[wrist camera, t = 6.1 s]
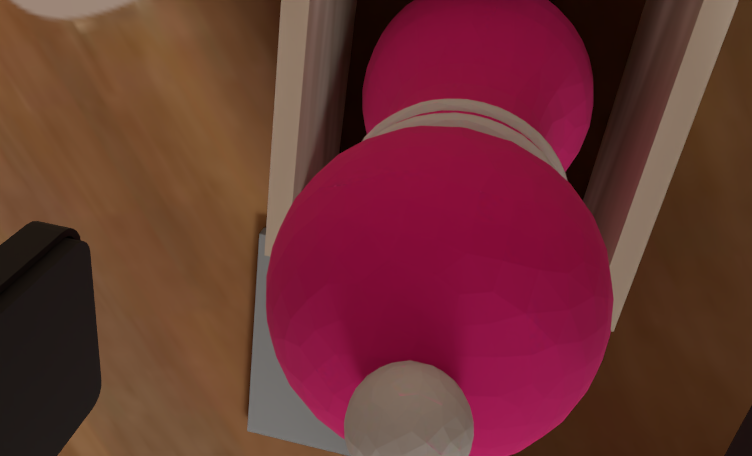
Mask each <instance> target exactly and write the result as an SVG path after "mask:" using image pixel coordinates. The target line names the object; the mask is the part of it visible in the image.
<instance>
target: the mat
mask: <svg viewBox="0 0 752 456" xmlns="http://www.w3.org/2000/svg"><path fill="white" fill-rule="evenodd" d="M265 238H266V228H263V229H262V231H261V232H260V234H259V248H258V264H257V281H256V297H255V314H254V330H253V346H252V363H251V379H250V396H249V412H248V429H247V431H249V432H254V433H258V434H262V435H266V436H270V437H274V438H278V439H282V440H286V441H290V442H294V443H298V444H302V445H307V446H311V447H315V448H319V449H323V450H327V451H331V452H335V453H339V454H343V455H347V456H350V454H349V451H348V449H347V445H346V441H345V439H343V438H341V437H340V436H339V435H338V434H336V433H335V432H334V431H333V430H331V429H330V428H329V427H327V426H326V425H325V424H324V423H322V422H321V421H320V420H319V419H317V418H316V416H315V415H314V414H313V413H312V412H311V410H310V409H309V408H308V407H307V406H306V404H305V403H304V402H303V401H302V399H301V398H300V397H299V396H298V395H297V393H296V392H295V391H294V390H293V389H292V387H291V386H290V384H289V382H288V380H287V378H286V376H285V374H284V372H283V370H282V368H281V366H280V364H279V362H278V360H277V357H276V354H275V350H274V347H273V344H272V340H271V337H270V332H269V328H268V323H267V315H266V276H267V271H268V266H269V261H270V257H269V256H265V255H264V254H265Z"/></svg>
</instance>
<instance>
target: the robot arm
mask: <svg viewBox="0 0 752 456" xmlns="http://www.w3.org/2000/svg"><path fill="white" fill-rule="evenodd" d="M100 390H101V371H100V359H99V348H98V336H97V325H96V313H95V302H94V290H93V279H92V267H91V256H90V249H89V246H88V244H87V243H86V242H84V241H81V240H80V236H79V234H78V232H77V231H76V230H74V229H72V228H67V227H62V226H58V225H53V224H48V223H44V222H39V221H32V222H30V223H29V224H27V225H25V226H24V227H23V228H22V229H20V230H19V231H18V232H17V233H15V234H14V235H13V236H11V237H10V238H9V239H8V240H6V241H5V242H4V243H3V244H1V245H0V456H57V455H58V454H59V453H60V451H61V450H62V449H63V447H64V446H65V445H66V443H67V442H68V441H69V439H70V438H71V437H72V435H73V434H74V433H75V431H76V430H77V429H78V427H79V426H80V425H81V423H82V422H83V421H84V419H85V418H86V417H87V415H88V414H89V413H90V411H91V410H92V409H93V407H94V405H95V404H96V402H97V399H98V397H99V394H100ZM724 456H752V406H751V408H750V410H749V411H748V413H747V415H746V417H745V419H744V421H743V422H742V424H741V426H740V428H739V430H738V432H737V433H736V435H735V437H734V439H733V441H732V443H731V444H730V446H729V448H728V450H727V452H726V454H725V455H724Z"/></svg>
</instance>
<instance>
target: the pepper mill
mask: <svg viewBox="0 0 752 456" xmlns="http://www.w3.org/2000/svg"><path fill="white" fill-rule="evenodd" d="M592 109H593V73H592V69H591V64H590V59H589V56H588V53H587V51H586V48H585V45H584V43H583V41H582V39H581V37H580V36H579V34H578V32H577V31H576V29H575V27H574V26H573V24H572V23H571V22H570V21H569V20H568V19H567V17H566V16H565V15H564V14H563V13H562V12H561V11H560V10H559V9H558V8H557V7H556V6H555V5H554V4H552V3H551V2H550V1H549V0H413V1H412V2H411V3H409V4H408V5H406V6H405V7H404V8H403V9H402V10H401V11H400V12H399V13H398V14H397V15H396V16H395V17H394V18H393V19H392V20H391V22H390V23H389V24H388V26H387V27H386V28H385V30H384V31H383V32H382V34H381V36H380V38H379V40H378V42H377V44H376V46H375V48H374V50H373V53H372V55H371V58H370V61H369V63H368V66H367V70H366V74H365V79H364V84H363V89H362V110H363V116H364V123H365V128H366V133H367V135H366V136H365V137H364V139H363V140H362V142H360V143H358V144H356V145H355V146H353V147H351V148H349V149H347V150H345V151H344V152H342V153H340V154H338V155H337V156H336V157H335V158H334V159H332V160H331V161H330V162H329V163H328V164H327V165H326V166H325V167H324V168H322V169H321V170H320V171H319V172H318V173H317V174H316V175H315V176H314V177H313V178H312V179H311V181H310V182H309V183H308V184H307V185H306V186H305V188H304V189H303V190H302V191H301V192H300V193H299V195H298V196H297V197H296V198H295V200H294V202H293V203H292V205H291V207H290V209H289V210H288V212H287V214H286V217H285V219H284V221H283V223H282V225H281V227H280V229H279V231H278V234H277V236H276V239H275V242H274V244H273V247H272V251H271V256H270V261H269V266H268V271H267V276H266V315H267V323H268V328H269V332H270V337H271V340H272V344H273V347H274V350H275V354H276V357H277V360H278V362H279V364H280V366H281V368H282V370H283V372H284V374H285V376H286V378H287V380H288V382H289V384H290V386H291V387H292V389H293V390H294V391H295V392H296V393H297V395H298V396H299V397H300V398H301V399H302V401H303V402H304V403H305V404H306V406H307V407H308V408H309V409H310V410H311V412H312V413H313V414H314V415H315V416H316V418H317V419H319V420H320V421H321V422H322V423H324V424H325V425H326V426H327V427H329V428H330V429H331V430H333V431H334V432H335V433H336V434H338V435H339V436H340V437H341V438H343V439H345V441H346V445H347V449H348V451H349V454H350V456H510V455H512V454H515V453H518V452H520V451H521V450H523V449H524V448H526V447H528V446H529V445H531V444H532V443H534V442H535V441H537V440H538V439H540V438H541V437H543V436H544V435H546V434H547V433H548V432H550V431H551V430H552V429H554V428H555V427H557V426H558V425H559V424H561V423H562V422H563V421H564V420H565V418H566V417H567V416H568V415H569V413H570V412H571V411H572V410H573V408H574V407H575V406H576V405H577V403H578V402H579V401H580V400H581V398H582V397H583V396H584V395H585V393H586V392H587V391H588V389H589V387H590V385H591V383H592V381H593V379H594V377H595V375H596V373H597V371H598V369H599V367H600V365H601V362H602V360H603V357H604V353H605V350H606V347H607V344H608V340H609V337H610V333H611V322H612V311H613V301H614V298H613V289H612V281H611V274H610V267H609V260H608V253H607V248H606V246H605V243H604V241H603V238H602V236H601V233H600V231H599V228H598V226H597V223H596V221H595V219H594V216H593V215H592V213H591V212H590V210H589V209H588V208H587V206H586V205H585V203H584V202H583V201H582V199H581V198H580V196H579V195H578V194H577V192H576V191H575V189H574V188H573V187H572V185H571V184H570V183H569V182H568V180H567V177H566V173H565V172H566V170H567V169H568V167H569V166H570V165H571V163H572V162H573V160H574V159H575V157H576V156H577V154H578V153H579V151H580V149H581V146H582V144H583V141H584V139H585V137H586V134H587V132H588V129H589V127H590V121H591V115H592Z"/></svg>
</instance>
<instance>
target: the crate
mask: <svg viewBox="0 0 752 456" xmlns="http://www.w3.org/2000/svg"><path fill="white" fill-rule="evenodd" d="M738 1H739V0H646V2H645V5H644V8H643V11H642V15H641V18H640V21H639V24H638V27H637V30H636V34H635V37H634V40H633V43H632V46H631V50H630V53H629V56H628V59H627V62H626V65H625V69H624V72H623V75H622V78H621V81H620V85H619V88H618V91H617V94H616V97H615V100H614V104H613V107H612V110H611V113H610V116H609V119H608V123H607V126H606V129H605V132H604V135H603V139H602V142H601V145H600V148H599V151H598V154H597V158H596V161H595V164H594V167H593V170H592V174H591V177H590V180H589V183H588V186H587V189H586V193H585V196H584V199H583V202H584V203H585V205H586V206H587V208H588V209H589V210H590V212H591V213H592V215H593V216H594V219H595V221H596V223H597V226H598V228H599V231H600V233H601V236H602V238H603V241H604V243H605V246H606V248H607V253H608V260H609V267H610V274H611V281H612V289H613V298H614V301H613V311H612V322H611V331H612V332H614V329H615V327H616V324H617V321H618V319H619V316H620V313H621V311H622V308H623V306H624V303H625V300H626V298H627V295H628V292H629V290H630V287H631V284H632V282H633V279H634V276H635V274H636V271H637V268H638V266H639V263H640V261H641V258H642V255H643V253H644V250H645V247H646V245H647V242H648V239H649V237H650V234H651V231H652V229H653V226H654V223H655V221H656V218H657V216H658V213H659V210H660V208H661V205H662V202H663V200H664V197H665V194H666V192H667V189H668V186H669V184H670V181H671V178H672V176H673V173H674V171H675V168H676V165H677V163H678V160H679V157H680V155H681V152H682V149H683V147H684V144H685V141H686V139H687V136H688V133H689V131H690V128H691V126H692V123H693V120H694V118H695V115H696V112H697V110H698V107H699V104H700V102H701V99H702V96H703V94H704V91H705V89H706V86H707V83H708V81H709V78H710V75H711V73H712V70H713V67H714V65H715V62H716V59H717V57H718V54H719V51H720V49H721V46H722V44H723V41H724V38H725V36H726V33H727V30H728V28H729V25H730V22H731V20H732V17H733V14H734V12H735V9H736V6H737V4H738ZM356 6H357V0H281V11H280V26H279V41H278V56H277V72H276V87H275V102H274V117H273V132H272V147H271V163H270V178H269V193H268V208H267V223H266V238H265V254H264V255H265V256H269V257H270V256H271V251H272V247H273V244H274V242H275V239H276V236H277V234H278V231H279V229H280V227H281V225H282V223H283V221H284V219H285V217H286V214H287V212H288V210H289V209H290V207H291V205H292V203H293V202H294V200H295V198H296V197H297V196H298V195H299V193H300V192H301V191H302V190H303V189H304V188H305V186H306V185H307V184H308V183H309V182H310V181H311V179H312V178H313V177H314V176H315V175H316V174H317V173H318V172H319V171H320V170H321V169H322V168H324V167H325V166H326V165H327V164H328V163H329V162H330V161H331V160H332V159H334V158H335V157H336V156H337V155H338V154H339V151H340V142H341V134H342V125H343V117H344V108H345V100H346V91H347V83H348V74H349V66H350V57H351V49H352V40H353V32H354V23H355V15H356Z"/></svg>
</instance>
